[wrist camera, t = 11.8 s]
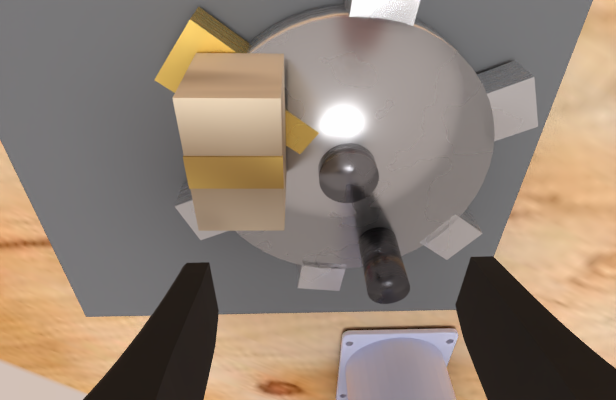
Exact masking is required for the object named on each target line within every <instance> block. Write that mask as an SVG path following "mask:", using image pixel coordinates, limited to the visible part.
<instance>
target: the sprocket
mask: <svg viewBox="0 0 616 400" xmlns="http://www.w3.org/2000/svg"><path fill="white" fill-rule="evenodd" d="M419 4H420V0H345V2H344V4H342V5H330V6H325V7H321V8H316V9H311V10H308V11H305V12H302V13H299V14H297V15H294V16H291V17H289V18H287V19H285V20H283V21H281V22H279V23H277V24H275V25H273V26H271V27H270V28H268V29H267V30H266V31H264V32H263V33H261V34H260V35H259V36H257V37H256V38H254V39H253V40H252V41H251V42H250V43H248V42H247V41H245V40H244V39H243V38H241V37H240V36H238V35H237V34H236V33H234V32H233V31H232V30H230V29H229V28H228V27H226V26H225V25H224V24H222V23H221V22H219V21H218V20H217V19H215V18H214V17H213V16H211V15H210V14H209V13H207V12H206V11H204V10H203V9H202V8H200V7H198V8H197V10H196V11H195V12H194V14H193V15H192V17H191V18H190V20H189V22H188V23H187V25H186V27H185V28H184V30H183V32H182V34H181V35H180V37H179V39H178V40H177V42H176V44H175V45H174V47H173V49H172V51H171V52H170V54H169V56H168V57H167V59H166V61H165V63H164V64H163V66H162V68H161V69H160V71H159V73H158V74H157V76H156V78H155V81H156V82H158V83H160V84H161V85H163V86H164V87H166V88H168V89H169V90H171V91H172V92H174V93H175V92H176V90H177V88H178V86H179V84H180V82H181V81H182V79H183V77H184V75H185V73H186V71H187V69H188V67H189V65H190V63H191V61H192V60H193V58H194V56H195V54H196V53H266V54H284V77H285V124H286V171H287V175H286V202H285V228H284V231H236V232H237V233H238V234H239V235H240V236H241V237H242V238H244V239H245V240H246V241H248V242H249V243H250V244H252V245H253V246H255V247H257V248H258V249H260V250H262V251H264V252H265V253H268V254H270V255H272V256H274V257H277V258H279V259H282V260H285V261H288V262H291V263H295V264H297V276H298V288H303V289H317V290H332V291H339V290H340V287H341V283H342V279H343V276H344V272H345V269H346V268H357V267H363V271H364V277H365V282H366V288H367V293H368V296H369V298H370V299H371V300H372V301H374V302H376V303H380V304H391V303H395V302H398V301H400V300H402V299H404V298H405V297H406V296H407V295H408V293H409V291H410V284H409V280H408V277H407V273H406V270H405V267H404V263H403V260H402V256H403V255H405V254H407V253H410V252H412V251H414V250H416V249H418V248H420V247H421V246H423V245H424V246H426V247H427V248H429V249H430V250H432V251H434V252H435V253H437V254H438V255H440V256H441V257H443V258H445V259H446V260H448V259H449V258H450V257H452V256H453V255H454V254H456V253H457V252H458V251H460V250H461V249H462V248H464V247H465V246H467V245H468V244H469V243H471V242H472V241H473V240H475V239H476V238H477V237H479V236H480V235H481V234H483V233H482V232H481V230H480V228H479V226H478V224H477V222H476V220H475V218H474V216H473V215H472V213H471V211H470V210H469V209H467V207H468V206H469V205H470V203H471V202H472V201H473V199H474V198H475V196H476V195H477V193H478V191H479V189H480V187H481V186H482V184H483V182H484V179H485V177H486V174H487V172H488V169H489V166H490V162H491V158H492V154H493V148H494V141H497V140H500V139H503V138H506V137H509V136H512V135H515V134H518V133H521V132H524V131H527V130H530V129H533V128H536V127H538V117H537V104H536V92H535V79H534V76H533V75H532V74H531V73H529V72H528V71H527V70H526V69H525V68H523V67H522V66H521V65H520V64H519V63H517V62H516V61H512V62H509V63H507V64H504V65H501V66H499V67H496V68H493V69H491V70H488V71H485V72H482V73H480V74H476V73H475V71H474V70H473V68H472V67H471V66H470V65H469V64H468V63H467V61H466V60H465V59H464V58H463V57H462V56H461V55H460V54H459V53H458V52H457V50H456V49H455V48H454V47H453V46H452V45H451V44H450V43H449V42H448V41H447V40H446V39H445V38H444V37H443V36H442V35H440V34H439V33H438V32H437V31H435V30H434V29H433V28H432V27H430V26H428V25H427V24H425V23H423V22H421V21H420V20H418V19H416V15H417V11H418V7H419ZM175 208H176V209H177V210H178V212H179V213H180V214H181V216H182V217H183V218H184V219H185V221H186V222H187V223H188V225H189V226H190V227H191V229H192V230H193V231H194V232H195V234H196V235H197V236H198V238H199V239H200V240H203V239H206V238H209V237H212V236H215V235H218V234H221V233H224V232H227V231H199V230H198V225H197V220H196V215H195V210H194V205H193V200H192V195H191V189H189V186H188V182H186V183H183V184H182V186H181V189H180V192H179V195H178V198H177V201H176V204H175Z"/></svg>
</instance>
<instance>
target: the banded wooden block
mask: <svg viewBox="0 0 616 400" xmlns="http://www.w3.org/2000/svg"><path fill="white" fill-rule="evenodd" d="M173 104H174V109H175V114H176V119H177V124H178V129H179V134H180V139H181V144H182V149H183V154H184V155H183V161H184V166H185V171H186V176H187V181H188V186H189V189H191V195H192V200H193V205H194V210H195V215H196V220H197V225H198V230H199V231H284V228H285V202H286V175H287V171H286V124H285V77H284V54H266V53H196V54H195V56H194V58H193V60H192V61H191V63H190V65H189V67H188V69H187V71H186V73H185V75H184V77H183V79H182V81H181V82H180V84H179V86H178V88H177V90H176V92H175V94H174V96H173Z"/></svg>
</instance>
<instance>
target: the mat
mask: <svg viewBox="0 0 616 400" xmlns="http://www.w3.org/2000/svg"><path fill="white" fill-rule="evenodd" d="M592 1H593V0H420V4H419V7H418V11H417V15H416V19H418V20H420V21H421V22H423V23H425V24H427V25H428V26H430V27H432V28H433V29H434V30H435V31H437V32H438V33H439V34H440V35H442V36H443V37H444V38H445V39H446V40H447V41H448V42H449V43H450V44H451V45H452V46H453V47H454V48H455V49H456V50H457V52H458V53H459V54H460V55H461V56H462V57H463V58H464V59H465V60H466V61H467V63H468V64H469V65H470V66H471V67H472V68H473V70H474V71H475V73H476V74H480V73H482V72H485V71H488V70H491V69H493V68H496V67H499V66H501V65H504V64H507V63H509V62H512V61H516V62H517V63H519V64H520V65H521V66H522V67H523V68H525V69H526V70H527V71H528V72H529V73H531V74H532V75H533V76H534V79H535V92H536V104H537V117H538V127H536V128H533V129H530V130H527V131H524V132H521V133H518V134H515V135H512V136H509V137H506V138H503V139H500V140H497V141H494V148H493V154H492V158H491V162H490V166H489V169H488V172H487V174H486V177H485V179H484V182H483V184H482V186H481V187H480V189H479V191H478V193H477V195H476V196H475V198H474V199H473V201H472V202H471V203H470V205H469V206H468V207H467V209H469V210H470V211H471V213H472V215H473V216H474V218H475V220H476V222H477V224H478V226H479V228H480V230H481V232H482V233H483V234H481V235H480V236H479V237H477V238H476V239H475V240H473V241H472V242H471V243H469V244H468V245H467V246H465V247H464V248H462V249H461V250H460V251H458V252H457V253H456V254H454V255H453V256H452V257H450V258H449V259H448V260H446V259H445V258H443V257H441V256H440V255H438V254H437V253H435V252H434V251H432V250H430V249H429V248H427V247H426V246H424V245H423V246H421V247H420V248H418V249H416V250H414V251H412V252H410V253H407V254H405V255H403V256H402V260H403V263H404V267H405V270H406V273H407V277H408V280H409V284H410V291H409V293H408V295H407V296H406V297H405V298H404V299H402V300H400V301H398V302H395V303H391V304H380V303H376V302H374V301H372V300H371V299H370V298H369V296H368V293H367V288H366V282H365V277H364V271H363V267H357V268H346V269H345V272H344V276H343V279H342V283H341V287H340V290H339V291H332V290H317V289H303V288H298V276H297V264H295V263H291V262H288V261H285V260H282V259H279V258H277V257H274V256H272V255H270V254H268V253H265V252H264V251H262V250H260V249H258V248H257V247H255V246H253V245H252V244H250V243H249V242H248V241H246V240H245V239H244V238H242V237H241V236H240V235H239V234H238V233H237V232H236V231H227V232H224V233H221V234H218V235H215V236H212V237H209V238H206V239H203V240H200V239H199V238H198V236H197V235H196V234H195V232H194V231H193V230H192V229H191V227H190V226H189V225H188V223H187V222H186V221H185V219H184V218H183V217H182V216H181V214H180V213H179V212H178V210H177V209H176V208H175V204H176V201H177V198H178V195H179V192H180V189H181V186H182V184H183V183H186V182H188V181H187V176H186V171H185V166H184V161H183V155H184V154H183V149H182V144H181V139H180V134H179V129H178V124H177V119H176V114H175V109H174V104H173V96H174V94H175V93H174V92H172V91H171V90H169V89H168V88H166V87H164V86H163V85H161V84H160V83H158V82H156V81H155V78H156V76H157V74H158V73H159V71H160V69H161V68H162V66H163V64H164V63H165V61H166V59H167V57H168V56H169V54H170V52H171V51H172V49H173V47H174V45H175V44H176V42H177V40H178V39H179V37H180V35H181V34H182V32H183V30H184V28H185V27H186V25H187V23H188V22H189V20H190V18H191V17H192V15H193V14H194V12H195V11H196V10H197V8H198V7H200V8H202V9H203V10H204V11H206V12H207V13H209V14H210V15H211V16H213V17H214V18H215V19H217V20H218V21H219V22H221V23H222V24H224V25H225V26H226V27H228V28H229V29H230V30H232V31H233V32H234V33H236V34H237V35H238V36H240V37H241V38H243V39H244V40H245V41H247V42H248V43H250V42H251V41H252V40H253V39H254V38H256V37H257V36H259V35H260V34H261V33H263V32H264V31H266V30H267V29H268V28H270V27H271V26H273V25H275V24H277V23H279V22H281V21H283V20H285V19H287V18H289V17H291V16H294V15H297V14H299V13H302V12H305V11H308V10H311V9H316V8H321V7H325V6H330V5H342V4H344V2H345V0H0V140H1V142H2V144H3V146H4V148H5V150H6V152H7V154H8V157H9V159H10V161H11V163H12V165H13V167H14V169H15V171H16V173H17V175H18V177H19V179H20V181H21V183H22V185H23V187H24V190H25V192H26V194H27V196H28V198H29V200H30V202H31V204H32V206H33V208H34V210H35V212H36V214H37V216H38V218H39V220H40V223H41V225H42V227H43V229H44V231H45V233H46V235H47V237H48V239H49V241H50V243H51V245H52V247H53V249H54V251H55V254H56V256H57V258H58V260H59V262H60V264H61V266H62V268H63V270H64V272H65V274H66V276H67V278H68V280H69V282H70V284H71V287H72V289H73V291H74V293H75V295H76V297H77V299H78V301H79V303H80V305H81V307H82V309H83V311H84V313H85V315H86V317H99V316H151V315H152V314H153V313H154V311H155V310H156V308H157V307H158V305H159V304H160V302H161V301H162V299H163V298H164V296H165V295H166V293H167V292H168V290H169V289H170V287H171V286H172V284H173V282H174V281H175V279H176V277H177V276H178V274H179V273H180V271H181V269H182V267H183V266H184V265H185V264H186V263H200V262H209V263H210V269H211V274H212V279H213V284H214V289H215V294H216V299H217V304H218V309H219V313H218V314H257V313H309V312H362V311H415V310H456V306H455V304H456V301H457V298H458V295H459V292H460V289H461V286H462V283H463V280H464V277H465V273H466V270H467V267H468V264H469V261H470V258H471V257H484V256H493V257H494V254H495V251H496V249H497V246H498V244H499V241H500V239H501V236H502V233H503V231H504V228H505V226H506V223H507V220H508V218H509V215H510V213H511V210H512V208H513V205H514V202H515V200H516V197H517V195H518V192H519V189H520V187H521V184H522V182H523V179H524V177H525V174H526V171H527V169H528V166H529V164H530V161H531V159H532V156H533V153H534V151H535V148H536V146H537V143H538V140H539V138H540V135H541V133H542V130H543V128H544V125H545V122H546V120H547V117H548V115H549V112H550V109H551V107H552V104H553V102H554V99H555V97H556V94H557V91H558V89H559V86H560V84H561V81H562V79H563V76H564V73H565V71H566V68H567V66H568V63H569V60H570V58H571V55H572V53H573V50H574V48H575V45H576V42H577V40H578V37H579V35H580V32H581V29H582V27H583V24H584V22H585V19H586V17H587V14H588V11H589V9H590V6H591V4H592Z"/></svg>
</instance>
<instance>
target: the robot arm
mask: <svg viewBox="0 0 616 400" xmlns="http://www.w3.org/2000/svg"><path fill="white" fill-rule="evenodd" d="M455 306H456V310H457V314H458V318H459V322H460V326H461V330H462V334H463V337H464V341H465V343H466V346H467V349H468V351H469V354H470V356H471V359H472V361H473V364H474V367H475V369H476V372H477V374H478V377H479V379H480V382H481V384H482V387H483V389H484V392H485V394H486V397H487V399H488V400H616V369H615V368H614V367H613V366H612V365H610V364H609V363H608V362H606V361H605V360H604V359H603V358H601V357H600V356H599V355H598V354H597V353H595V352H594V351H593V350H592V349H591V348H589V347H588V346H587V345H586V344H585V343H584V342H582V341H581V340H580V339H579V338H578V337H577V336H575V335H574V334H573V333H572V332H571V331H570V330H569V329H568V328H566V327H565V326H564V325H563V324H562V323H561V322H560V321H559V320H558V319H557V318H555V317H554V316H553V315H552V314H551V313H550V312H549V311H548V310H547V309H546V308H545V307H544V306H543V305H542V304H541V303H540V302H539V301H537V300H536V299H535V298H534V297H533V296H532V295H531V294H530V293H529V292H528V291H527V290H526V289H525V288H524V287H523V286H522V285H521V284H520V283H519V282H518V281H517V280H516V279H515V278H514V277H513V276H512V275H511V274H510V273H509V272H508V271H507V270H506V269H505V268H504V267H503V266H502V265H501V264H500V263H499V262H498V261H497V260H496V259H495V258H494V257H493V256H484V257H471V258H470V261H469V264H468V267H467V270H466V273H465V277H464V280H463V283H462V286H461V289H460V292H459V295H458V298H457V301H456V304H455ZM218 313H219V309H218V304H217V299H216V294H215V289H214V284H213V279H212V274H211V269H210V263H209V262H200V263H186V264H185V265H184V266H183V267H182V269H181V271H180V273H179V274H178V276H177V277H176V279H175V281H174V282H173V284H172V286H171V287H170V289H169V290H168V292H167V293H166V295H165V296H164V298H163V299H162V301H161V302H160V304H159V305H158V307H157V308H156V310H155V311H154V313H153V314H152V315H151V317H150V318H149V320H148V321H147V322H146V324H145V325H144V327H143V328H142V329H141V331H140V332H139V334H138V335H137V336H136V337H135V339H134V340H133V341H132V343H131V344H130V345H129V346H128V348H127V349H126V350H125V351H124V353H123V354H122V355H121V357H120V358H119V359H118V360H117V362H116V363H115V364H114V365H113V366H112V368H111V369H110V370H109V371H108V372H107V373H106V375H105V376H104V377H103V378H102V379H101V380H100V381H99V383H98V384H97V385H96V386H95V387H94V388H93V389H92V390H91V391H90V393H89V394H88V395H87V396H86V397H85V398H84V399H83V400H203V399H204V395H205V390H206V386H207V381H208V377H209V372H210V367H211V363H212V358H213V354H214V349H215V342H216V333H217V323H218ZM457 339H458V332H457V330H456V329H453V328H443V329H394V330H349V331H345V332H344V333H343V334H342V341H341V351H340V361H339V371H338V381H337V391H336V400H456V396H455V393H454V390H453V387H452V384H451V380H450V377H449V374H448V371H447V365H448V362H449V360H450V357H451V354H452V352H453V349H454V347H455V344H456V341H457Z"/></svg>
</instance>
